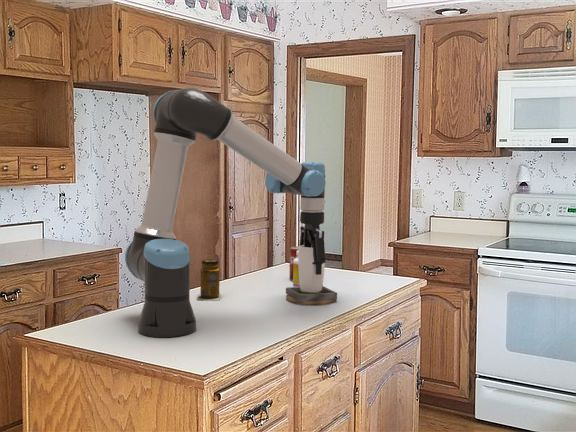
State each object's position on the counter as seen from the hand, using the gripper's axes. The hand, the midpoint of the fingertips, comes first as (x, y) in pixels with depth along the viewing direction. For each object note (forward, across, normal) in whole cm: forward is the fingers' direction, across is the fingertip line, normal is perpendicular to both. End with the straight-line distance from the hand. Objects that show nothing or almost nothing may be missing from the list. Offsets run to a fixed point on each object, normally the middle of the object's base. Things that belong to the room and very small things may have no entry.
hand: (311, 281), depth 216 cm
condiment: (+6, +13, +30) cm, 33 cm away
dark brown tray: (+6, 0, 0) cm, 6 cm away
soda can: (+6, +30, -8) cm, 32 cm away
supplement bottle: (+6, +17, -4) cm, 18 cm away
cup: (+4, 0, 0) cm, 4 cm away
